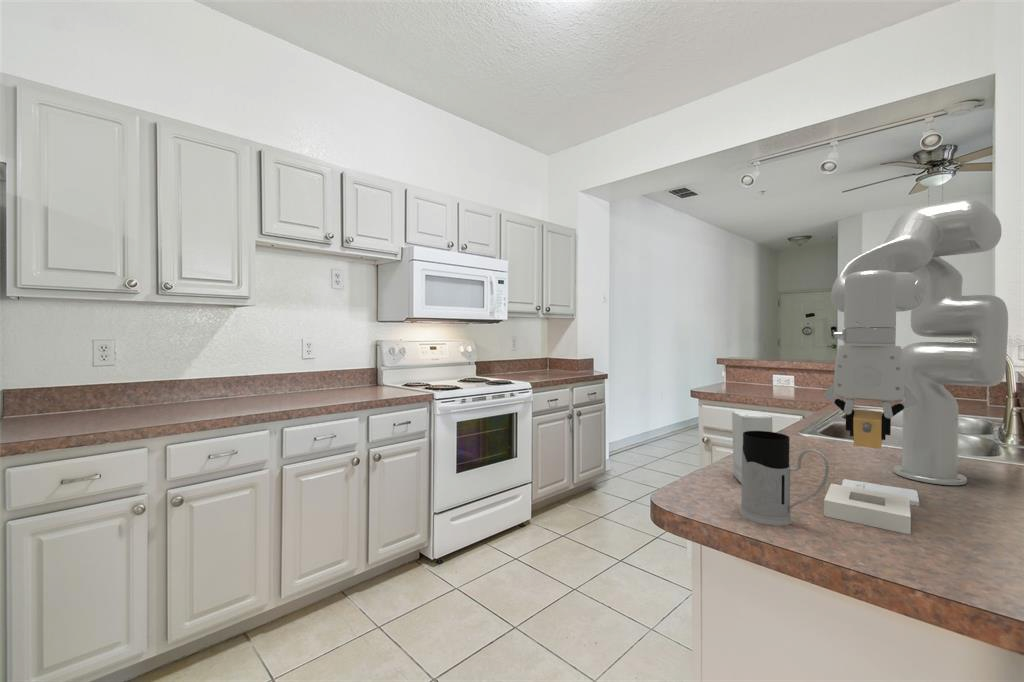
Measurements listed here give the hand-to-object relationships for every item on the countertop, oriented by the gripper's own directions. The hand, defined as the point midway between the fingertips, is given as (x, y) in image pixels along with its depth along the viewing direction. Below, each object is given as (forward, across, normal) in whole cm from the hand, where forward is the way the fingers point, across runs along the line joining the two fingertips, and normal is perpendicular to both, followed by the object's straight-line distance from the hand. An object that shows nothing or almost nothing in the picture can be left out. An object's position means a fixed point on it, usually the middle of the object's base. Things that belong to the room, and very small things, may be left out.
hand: (867, 435), depth 84 cm
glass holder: (+15, -12, -13) cm, 23 cm away
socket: (+15, 0, 0) cm, 15 cm away
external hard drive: (+15, +1, +16) cm, 22 cm away
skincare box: (+15, -21, +7) cm, 27 cm away
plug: (+1, 0, +1) cm, 2 cm away
